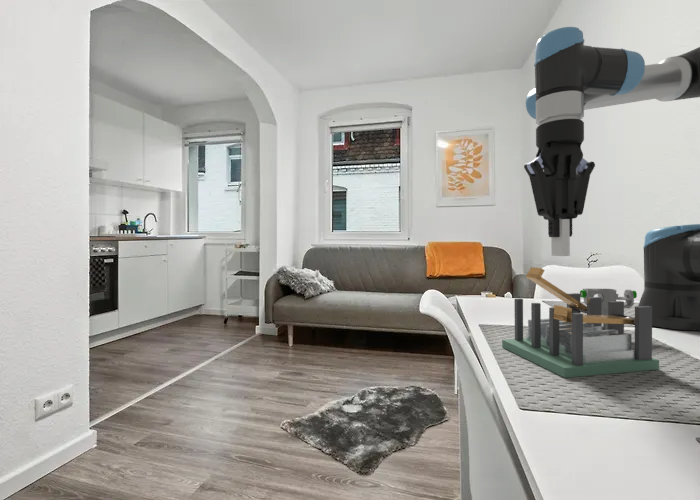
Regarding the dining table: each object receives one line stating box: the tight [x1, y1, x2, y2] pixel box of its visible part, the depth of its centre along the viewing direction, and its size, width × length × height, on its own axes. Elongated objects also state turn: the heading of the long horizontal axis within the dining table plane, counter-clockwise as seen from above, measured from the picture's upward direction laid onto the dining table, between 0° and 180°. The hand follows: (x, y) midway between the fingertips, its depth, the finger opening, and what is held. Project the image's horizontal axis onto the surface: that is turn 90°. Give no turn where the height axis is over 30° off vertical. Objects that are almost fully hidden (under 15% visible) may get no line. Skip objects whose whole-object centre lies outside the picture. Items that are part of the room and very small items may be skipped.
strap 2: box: [553, 304, 635, 326], centre depth 64 cm, size 14×4×2 cm, turn 100°
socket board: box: [501, 337, 660, 379], centre depth 69 cm, size 17×17×2 cm
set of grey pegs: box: [514, 292, 653, 366], centre depth 69 cm, size 14×16×8 cm
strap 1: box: [525, 266, 587, 314], centre depth 74 cm, size 14×4×2 cm
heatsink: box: [525, 318, 635, 364], centre depth 69 cm, size 9×15×4 cm, turn 10°
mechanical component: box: [579, 288, 638, 330], centre depth 83 cm, size 3×10×10 cm, turn 79°
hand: (560, 255), depth 70 cm, fingers closed
